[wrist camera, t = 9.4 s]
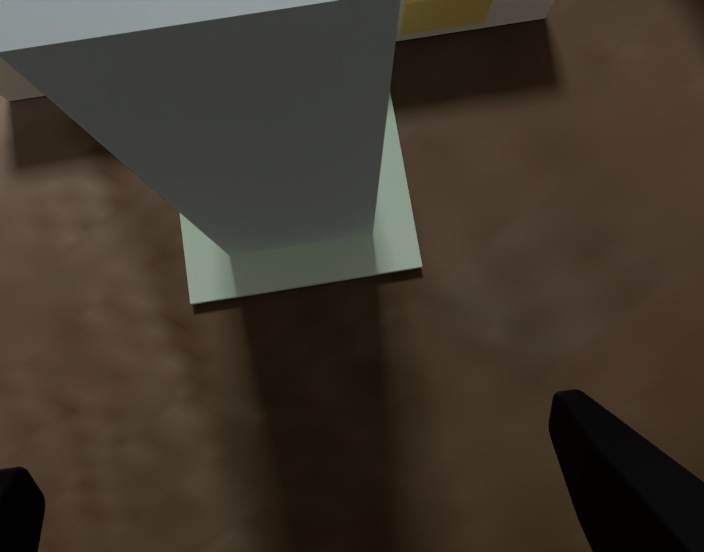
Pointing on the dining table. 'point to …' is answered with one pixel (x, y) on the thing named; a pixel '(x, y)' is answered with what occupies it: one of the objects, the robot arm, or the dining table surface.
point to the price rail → (413, 22)
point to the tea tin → (225, 104)
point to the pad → (313, 246)
